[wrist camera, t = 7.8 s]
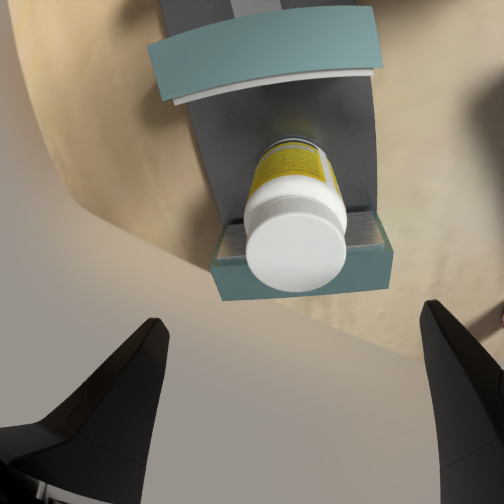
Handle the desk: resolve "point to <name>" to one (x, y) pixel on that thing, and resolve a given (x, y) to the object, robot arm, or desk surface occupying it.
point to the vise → (276, 129)
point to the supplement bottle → (295, 218)
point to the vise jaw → (266, 49)
